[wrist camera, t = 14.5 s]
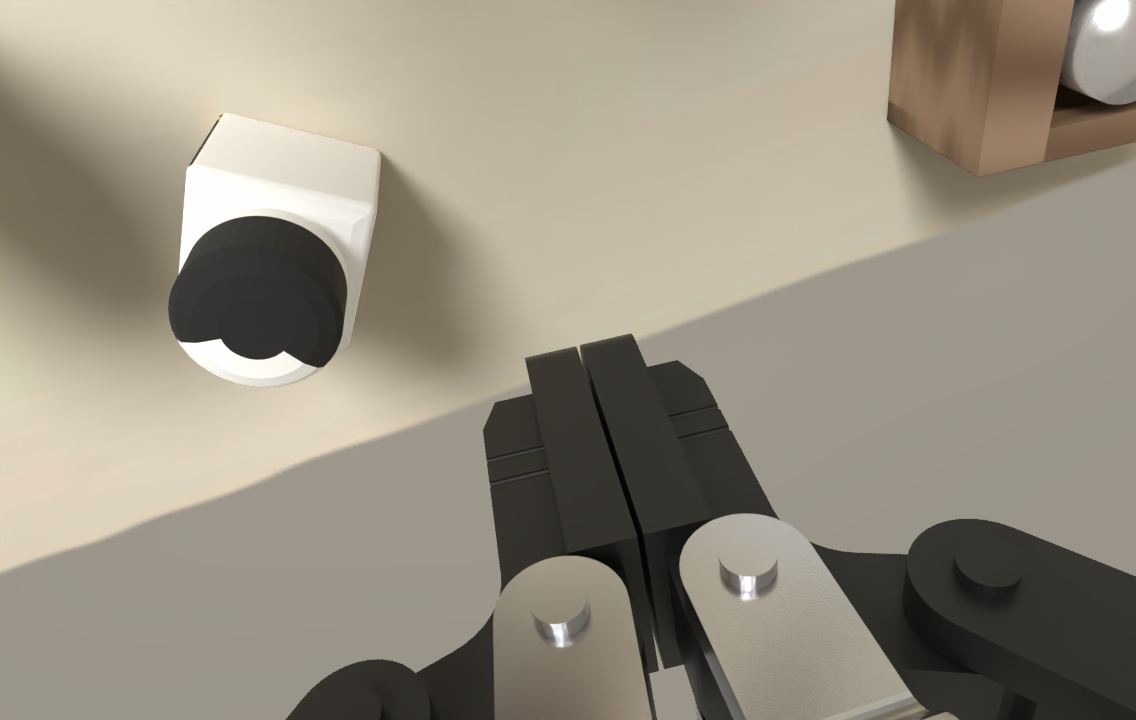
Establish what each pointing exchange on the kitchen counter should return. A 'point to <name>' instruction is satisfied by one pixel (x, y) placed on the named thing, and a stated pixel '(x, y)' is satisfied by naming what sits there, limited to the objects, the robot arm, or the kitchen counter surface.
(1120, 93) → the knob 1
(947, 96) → the wooden spice jar rack
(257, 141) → the medicine bottle
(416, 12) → the kitchen counter surface
